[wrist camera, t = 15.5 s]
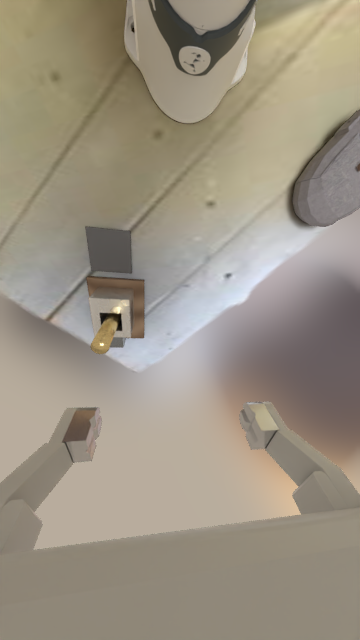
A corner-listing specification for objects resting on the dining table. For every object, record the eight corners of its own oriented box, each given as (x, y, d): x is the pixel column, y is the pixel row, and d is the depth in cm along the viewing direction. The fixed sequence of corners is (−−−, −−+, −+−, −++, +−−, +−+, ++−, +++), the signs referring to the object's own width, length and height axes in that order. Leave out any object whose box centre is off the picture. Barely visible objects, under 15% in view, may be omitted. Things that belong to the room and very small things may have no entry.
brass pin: (111, 303, 44) (89, 340, 30) (123, 303, 44) (107, 340, 30) (112, 313, 45) (91, 353, 31) (124, 314, 45) (109, 353, 31)
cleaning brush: (368, 89, 31) (274, 189, 37) (431, 49, 24) (302, 181, 30) (388, 166, 37) (305, 242, 43) (444, 153, 30) (334, 246, 36)
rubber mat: (86, 226, 36) (85, 226, 36) (130, 231, 38) (130, 231, 37) (92, 270, 41) (91, 270, 40) (131, 272, 42) (131, 273, 42)
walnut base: (88, 276, 41) (86, 277, 40) (144, 279, 43) (143, 281, 42) (97, 334, 49) (95, 337, 48) (144, 335, 51) (143, 338, 50)
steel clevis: (98, 286, 41) (88, 297, 35) (133, 288, 42) (129, 299, 36) (105, 335, 48) (97, 352, 42) (134, 336, 49) (131, 352, 43)
